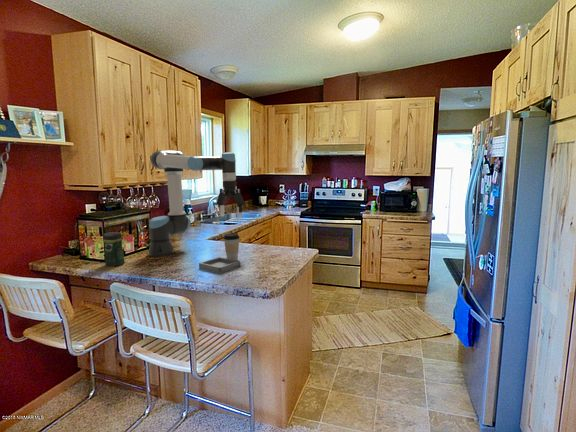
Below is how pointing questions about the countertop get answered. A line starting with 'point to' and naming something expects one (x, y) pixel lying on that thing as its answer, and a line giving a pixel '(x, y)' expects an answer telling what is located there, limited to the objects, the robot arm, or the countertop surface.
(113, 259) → the coffee jar
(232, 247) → the coffee cup
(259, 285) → the countertop surface
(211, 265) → the tray
